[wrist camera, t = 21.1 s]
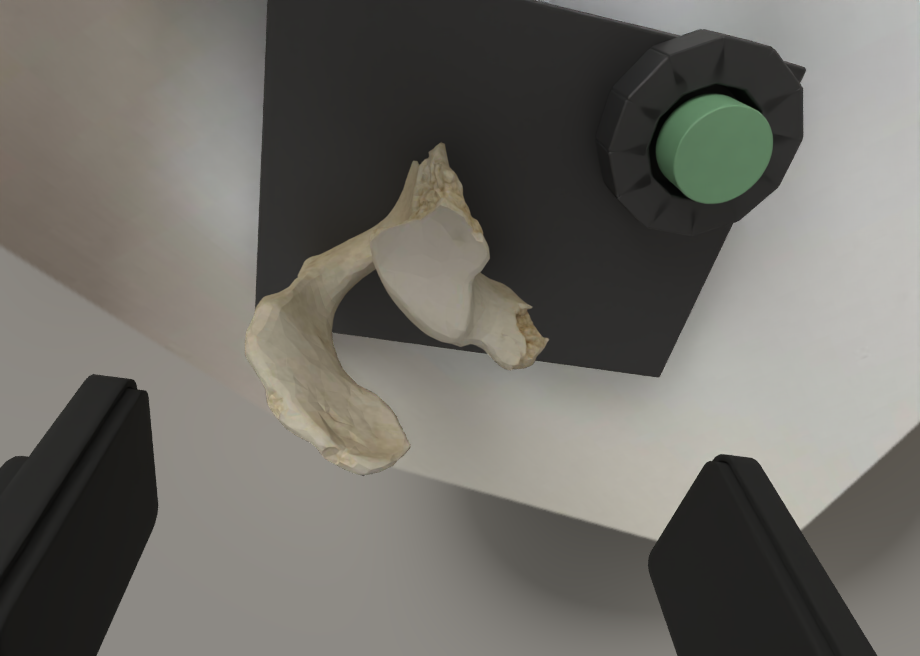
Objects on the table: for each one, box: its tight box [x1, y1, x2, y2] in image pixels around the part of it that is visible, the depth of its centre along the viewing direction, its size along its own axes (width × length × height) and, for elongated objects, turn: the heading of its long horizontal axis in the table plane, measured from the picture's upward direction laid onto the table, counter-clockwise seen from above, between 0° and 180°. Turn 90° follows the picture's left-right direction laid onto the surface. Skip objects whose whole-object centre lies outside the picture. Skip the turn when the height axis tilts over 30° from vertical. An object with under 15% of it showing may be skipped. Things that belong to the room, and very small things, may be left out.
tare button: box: [656, 93, 773, 204], centre depth 18 cm, size 3×3×2 cm
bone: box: [245, 143, 549, 476], centre depth 18 cm, size 9×6×10 cm
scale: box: [255, 0, 806, 377], centre depth 20 cm, size 16×12×3 cm
